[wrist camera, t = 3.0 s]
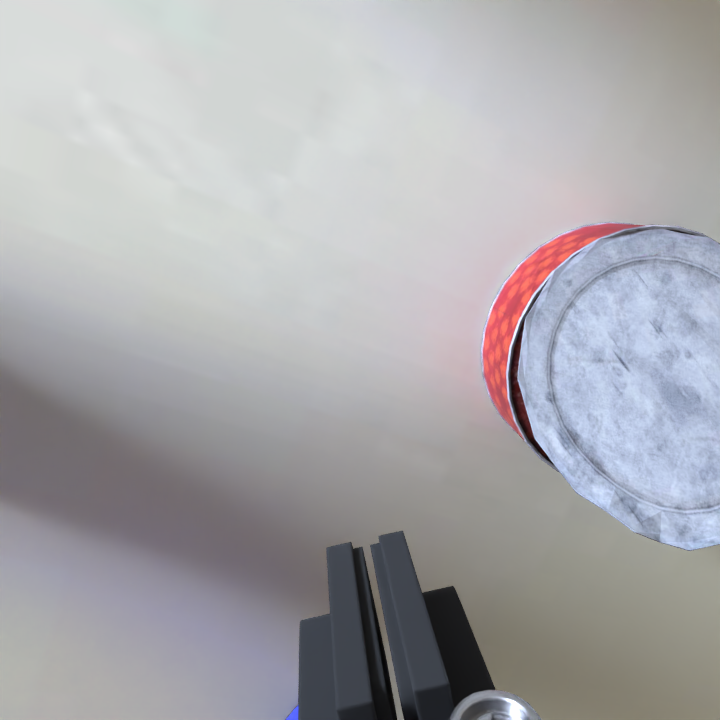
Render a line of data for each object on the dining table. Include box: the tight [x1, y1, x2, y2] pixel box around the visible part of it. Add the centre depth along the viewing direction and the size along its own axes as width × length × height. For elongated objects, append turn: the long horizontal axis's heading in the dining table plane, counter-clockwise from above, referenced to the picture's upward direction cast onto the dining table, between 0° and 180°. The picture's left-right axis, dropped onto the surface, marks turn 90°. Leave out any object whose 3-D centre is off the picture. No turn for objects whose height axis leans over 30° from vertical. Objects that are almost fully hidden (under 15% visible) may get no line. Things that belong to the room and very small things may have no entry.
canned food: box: [481, 222, 720, 551], centre depth 20 cm, size 11×10×10 cm
